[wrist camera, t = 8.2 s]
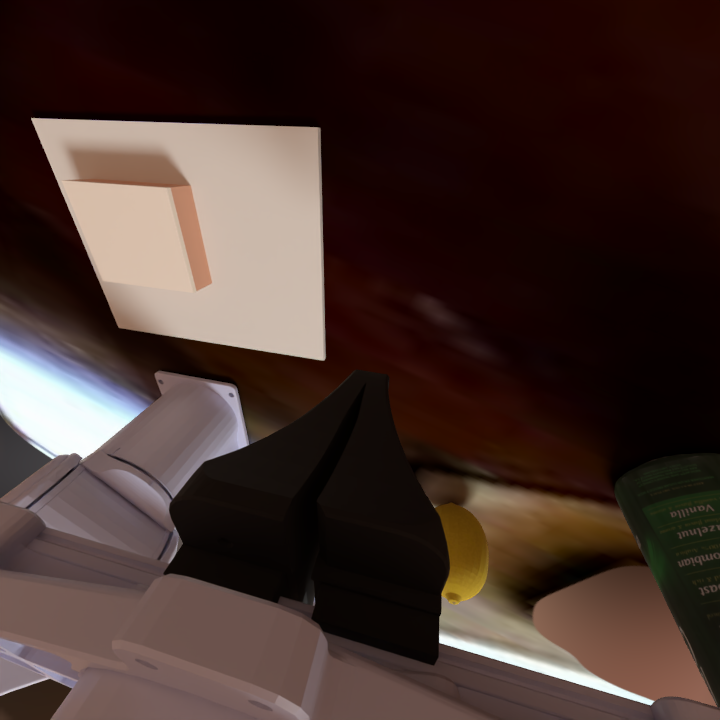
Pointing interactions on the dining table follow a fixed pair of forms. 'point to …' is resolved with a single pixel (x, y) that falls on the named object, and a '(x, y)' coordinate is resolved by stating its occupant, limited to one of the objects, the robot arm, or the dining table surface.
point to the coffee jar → (682, 545)
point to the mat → (218, 225)
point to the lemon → (463, 553)
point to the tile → (142, 232)
